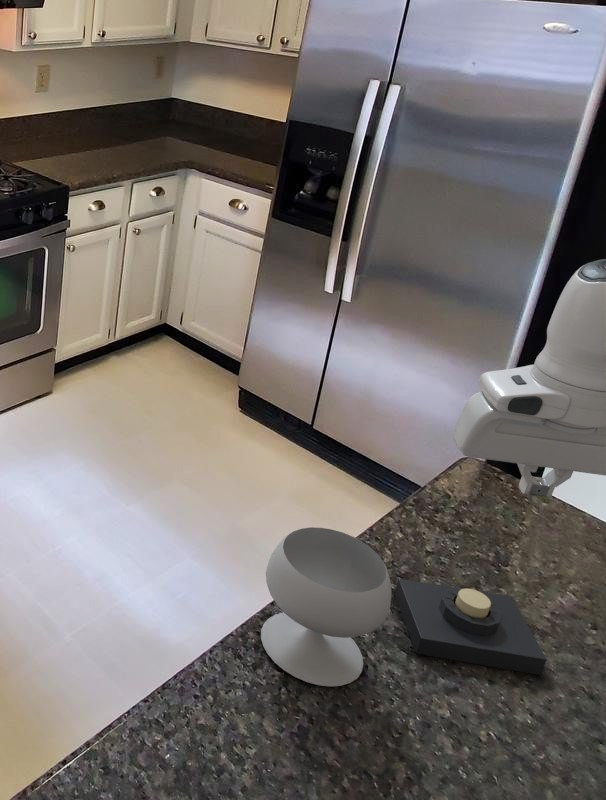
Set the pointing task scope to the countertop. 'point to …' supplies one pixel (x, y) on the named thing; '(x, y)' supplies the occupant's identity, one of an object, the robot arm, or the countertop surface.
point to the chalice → (324, 604)
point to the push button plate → (468, 628)
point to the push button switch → (473, 603)
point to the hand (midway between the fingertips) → (533, 492)
